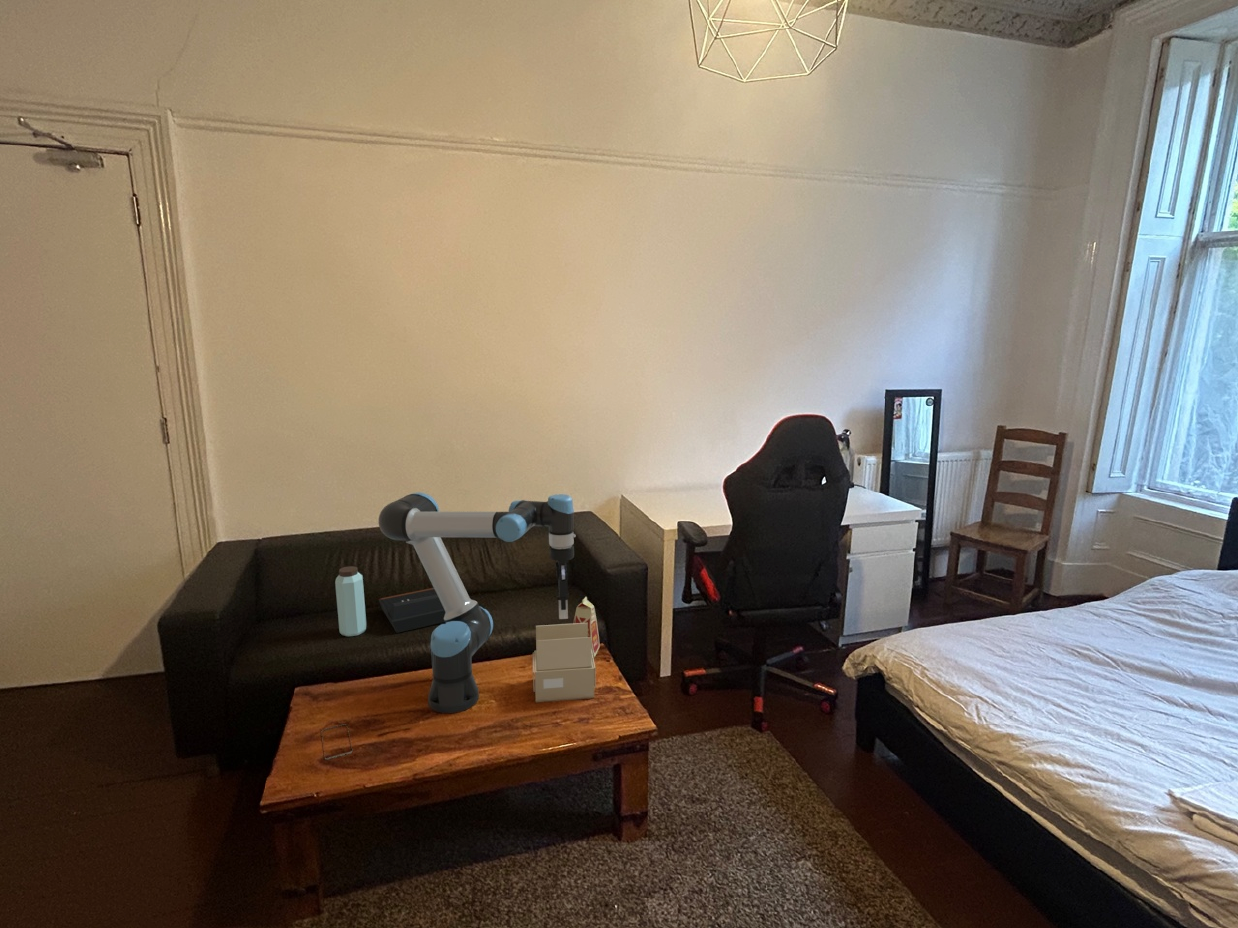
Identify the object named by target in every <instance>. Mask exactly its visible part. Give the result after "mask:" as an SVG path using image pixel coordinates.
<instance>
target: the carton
mask: <svg viewBox="0 0 1238 928" xmlns="http://www.w3.org/2000/svg"><path fill="white" fill-rule="evenodd" d="M594 658H595V657H593V654H592V649H591V664H592V666H591V667H576V668H562V669H547V670H537V650H534V652H532V677H533V678H532V679H533V681H532V683H533V693H534V692H535V693H534V694H535V703H546V702H548V703H549V702H558V701H571V700H572V701H573V700H586V699H594V698H595V688H596V687H597V686H596V679H597V676H596V664H595V660H594Z"/></svg>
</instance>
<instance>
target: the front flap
mask: <svg viewBox="0 0 1238 928" xmlns="http://www.w3.org/2000/svg"><path fill="white" fill-rule="evenodd" d="M535 640H536V639H535ZM535 643H536V644H535V645H537V650H536V651H537V670H547V669H562V668H576V667H591V666H592V664H591V637H584V638H568V639H552V640H536V641H535Z"/></svg>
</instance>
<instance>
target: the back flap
mask: <svg viewBox="0 0 1238 928" xmlns="http://www.w3.org/2000/svg"><path fill="white" fill-rule="evenodd" d="M584 637H588V623H574V622H573V623H559V624H548V625H547V624H546V625H545V624H542V625H535V640H552V639H568V638H584ZM535 645H536V644H535ZM535 651H537V645H536V650H535Z"/></svg>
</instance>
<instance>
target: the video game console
mask: <svg viewBox="0 0 1238 928" xmlns="http://www.w3.org/2000/svg"><path fill="white" fill-rule="evenodd" d="M378 600H379V601H378V602H379V604H380V607H381V610H382V611H383V613H384V615H385V616H386V617H387V619H388V621H389V624H391V626H392V628H393V630H394V631H395V632H396V633H397V634H398V633H402V632H403V633H404V632H406V631H407V632H408V631H412V630H416V629H420V628H424V627H429V626H435V625H437V624H444V623H445V621H444V616H445V613H446V612H445V610H444V607H443V605H442V603H441V601H440V599H439V597H438V595H437V593H436V591H435V589H434V587H431V588H426V589H420V590H415V591H410V592H406V593H400V594H396V595H391V596H387V597H386V596H385V597H382V598H378Z"/></svg>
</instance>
